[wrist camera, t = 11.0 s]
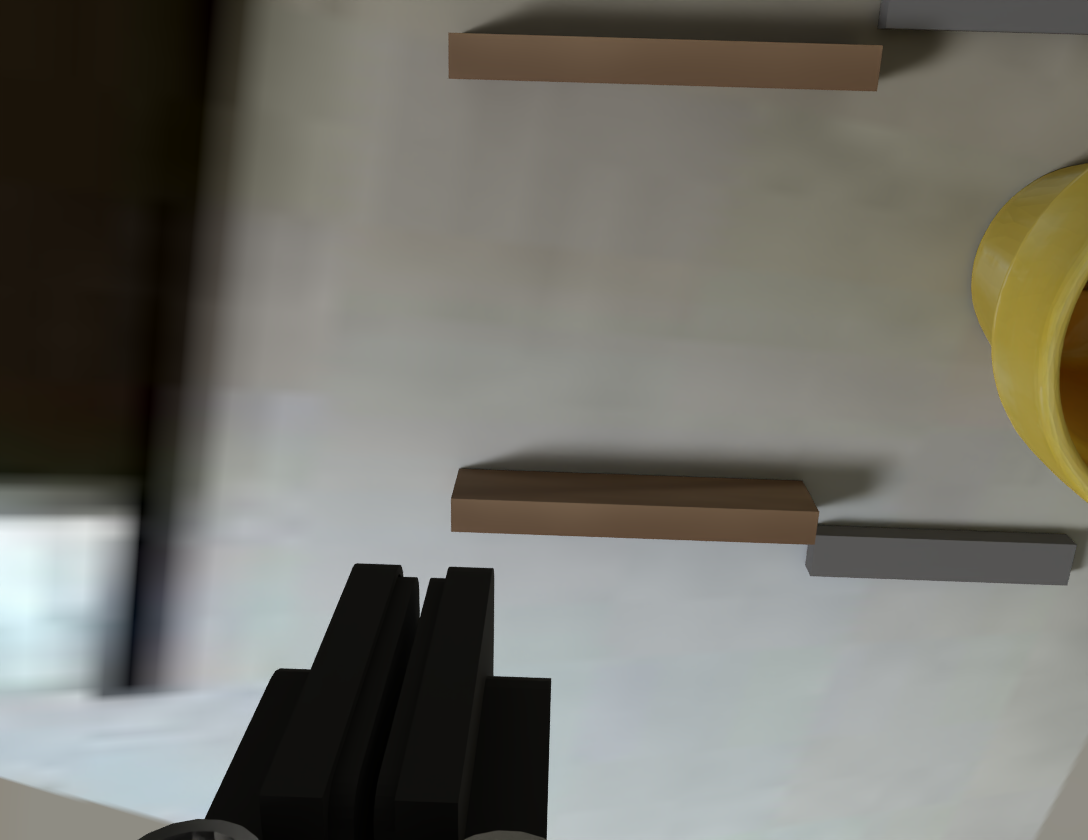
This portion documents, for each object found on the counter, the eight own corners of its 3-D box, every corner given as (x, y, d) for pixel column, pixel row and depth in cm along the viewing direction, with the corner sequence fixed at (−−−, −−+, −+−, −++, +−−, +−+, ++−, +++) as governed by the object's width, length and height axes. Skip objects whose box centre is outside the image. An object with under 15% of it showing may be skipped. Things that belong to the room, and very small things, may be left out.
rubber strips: (885, -31, 29) (894, -33, 28) (1196, -22, 29) (1212, -24, 28) (805, 565, 36) (810, 576, 35) (1056, 574, 36) (1067, 585, 35)
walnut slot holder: (458, 34, 30) (448, 32, 27) (858, 45, 30) (883, 45, 27) (459, 499, 35) (451, 531, 33) (798, 511, 35) (814, 544, 33)
